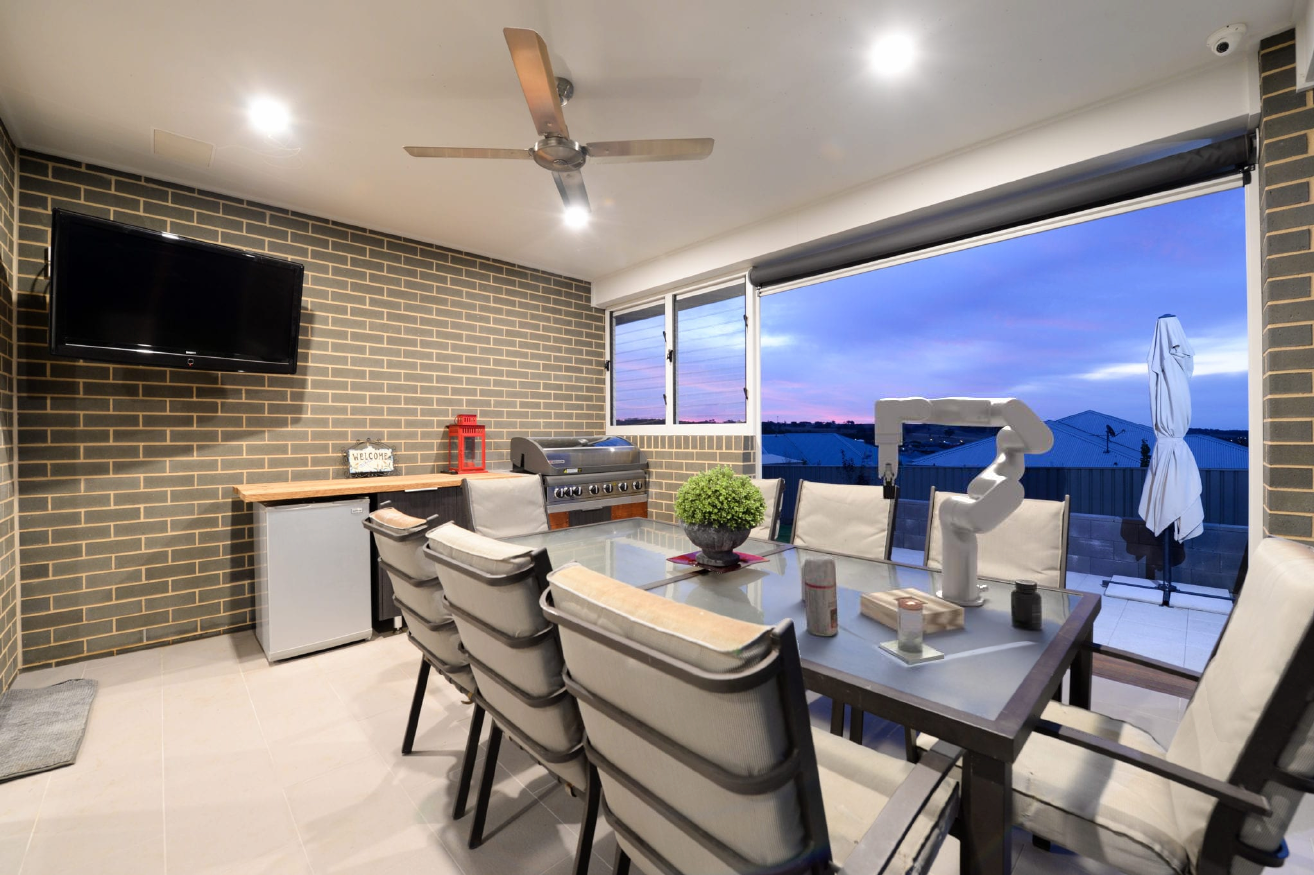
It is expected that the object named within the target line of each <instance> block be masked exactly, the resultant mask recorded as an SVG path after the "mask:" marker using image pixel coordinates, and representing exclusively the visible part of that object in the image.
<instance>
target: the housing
mask: <svg viewBox="0 0 1314 875" xmlns="http://www.w3.org/2000/svg"><path fill="white" fill-rule="evenodd" d="M859 596H860V608H859V609H860V613H861V614H862V615H865V616H867V617H869V618H871V619H873V620H875V621H877V622H879V623H881V624H883V625H885V626H886V627H889V628H891V629H893V630H894V631H896V632H898V600H899V599H913V600H917V601H920V602H922V603H923V635H926V634H932V633H933V634H934V633H937V632H944V631H949V630H950V631H951V630H956V629H961V628H965V608H964V607H963V606H960V605H955V604H952V603H949V602H947V601H944V600H942V599H939V598H937V597H936V596H933V595H930V594H928V593H926V592H924V591H920V590H918V589H915V588H913V587H911V588H910V587H908V588H903V589H902V588H901V589H893V590H887V591H886V590H885V591H879V592H872V593H864V594H862V593H861V594H859Z"/></svg>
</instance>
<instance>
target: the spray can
mask: <svg viewBox="0 0 1314 875" xmlns="http://www.w3.org/2000/svg"><path fill="white" fill-rule="evenodd" d="M804 562H805V566H804V582H805V599H806V602H805V614H806V617H805V618H806V621H805V622H806V631H807V632H808V633H809V634H812V635H814V636H818V637H832V636H835V635H837V634H838V632H839V628H838V626H839V625H838V624H839V623H838V622H839V620H838V603H837V602H838V596H837V573H836V572H837V571H836V562H835V560H834V557H832V556H831V555H830V554H822V555H819V556H817V557H811V558H806V559H805V561H804Z"/></svg>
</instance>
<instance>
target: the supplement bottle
mask: <svg viewBox="0 0 1314 875" xmlns="http://www.w3.org/2000/svg"><path fill="white" fill-rule="evenodd" d="M1014 588H1015V589H1013V590H1012V591H1011V592H1010V621H1011V625H1012V626H1013V625H1014V627H1015V628H1017V629H1021V630H1025V631H1032V632H1033V631H1034V632H1035V631H1039V630H1042V628H1043V598H1042V595H1041V594H1040V593H1039V592H1037V591H1038V583H1037V582H1036V581H1035V580H1029V579H1016V580H1014Z"/></svg>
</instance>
